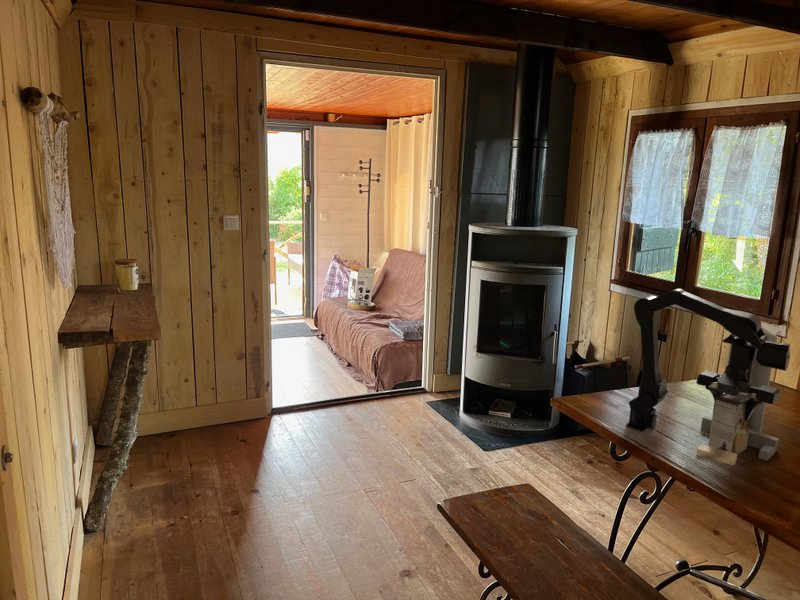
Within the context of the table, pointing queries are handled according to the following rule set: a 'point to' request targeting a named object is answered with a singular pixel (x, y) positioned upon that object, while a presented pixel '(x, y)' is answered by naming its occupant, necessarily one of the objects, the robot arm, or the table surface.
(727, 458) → the offcut upper
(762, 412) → the brochure
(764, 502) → the table surface
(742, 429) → the coffee box
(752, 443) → the bracket
